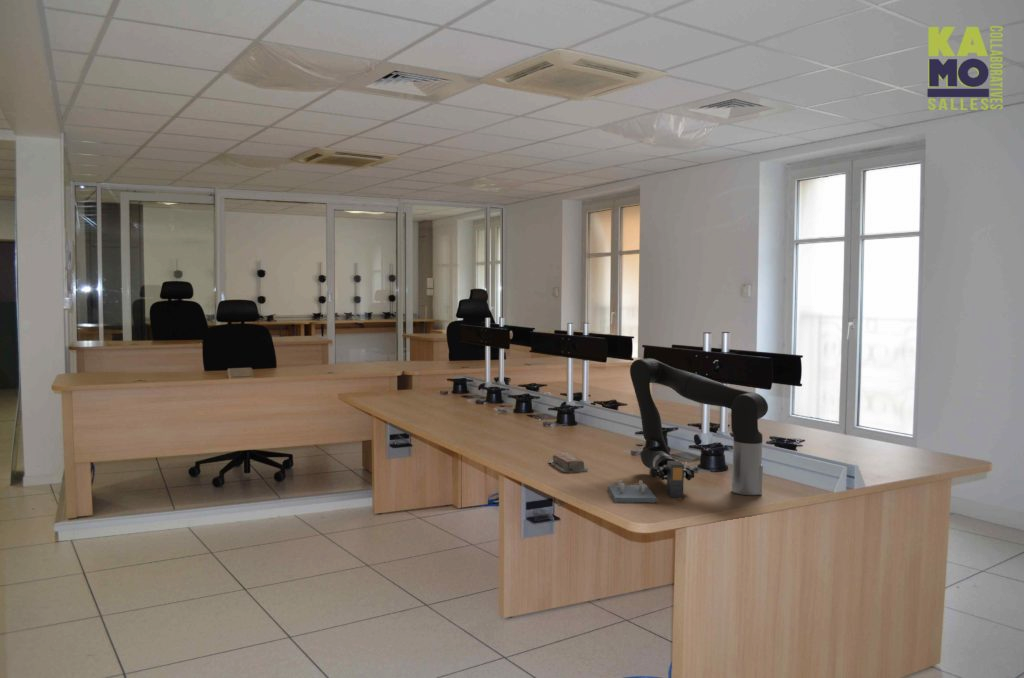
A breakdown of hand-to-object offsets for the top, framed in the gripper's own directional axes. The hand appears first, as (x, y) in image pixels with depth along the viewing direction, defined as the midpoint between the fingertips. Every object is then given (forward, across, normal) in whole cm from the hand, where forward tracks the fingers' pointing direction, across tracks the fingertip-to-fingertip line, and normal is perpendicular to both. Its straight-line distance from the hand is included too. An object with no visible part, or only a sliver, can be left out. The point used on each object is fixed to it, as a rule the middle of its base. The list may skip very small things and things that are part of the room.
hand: (676, 477), depth 244 cm
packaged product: (-43, -31, +7) cm, 54 cm away
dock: (-1, -14, +7) cm, 16 cm away
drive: (-2, 0, +7) cm, 7 cm away
